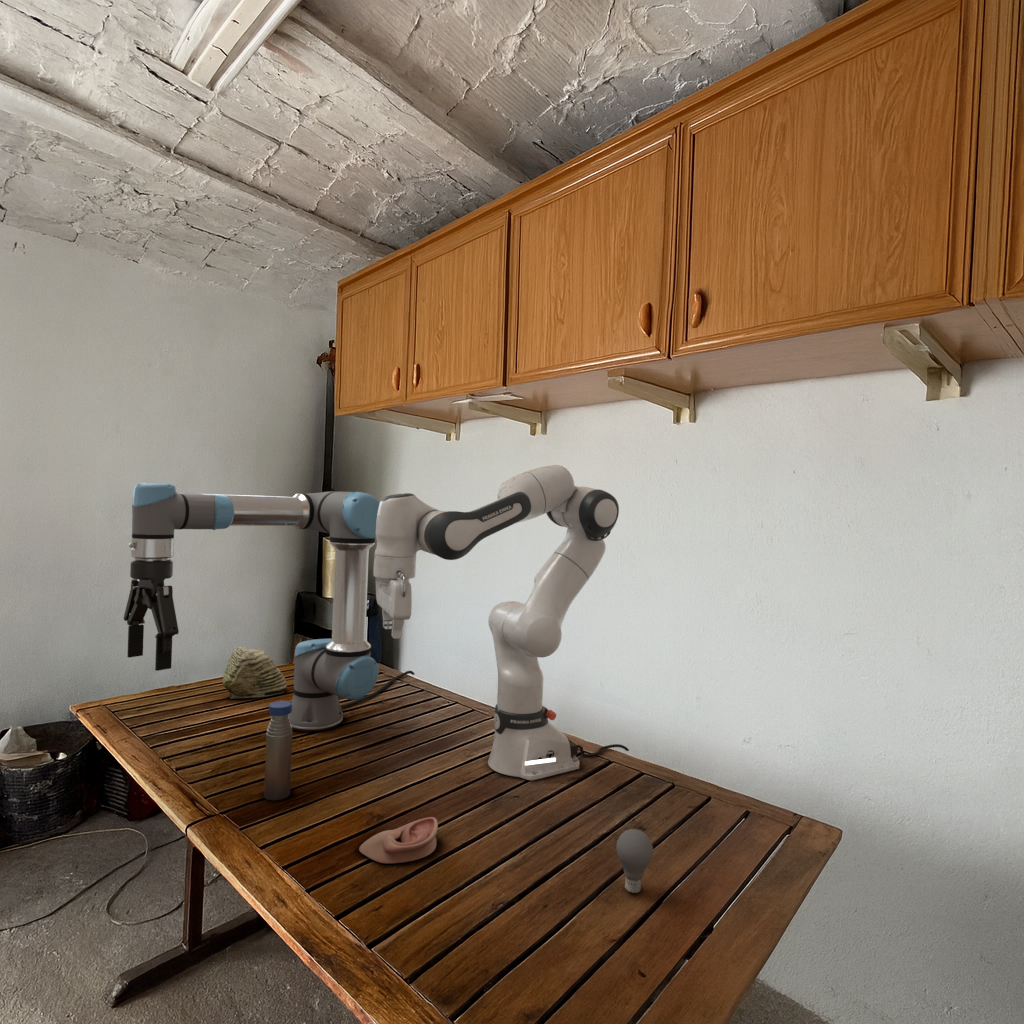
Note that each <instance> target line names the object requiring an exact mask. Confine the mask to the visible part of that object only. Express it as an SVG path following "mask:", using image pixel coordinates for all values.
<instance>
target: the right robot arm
mask: <svg viewBox="0 0 1024 1024" xmlns="http://www.w3.org/2000/svg"><path fill="white" fill-rule="evenodd" d="M573 477H574V476H573V475H572V474H571V472H570V471H569V469H568V468H566V467H564V466H562V465H559V464H553V465H546V466H541V467H537V468H533V469H530V470H529V469H528V470H527V471H524V472H521V473H519V474H516V475H514V476H512V477H510V478H509V479H507V480H505V481H504V482H502V483H501V484H500V486H499V488H498V490H497V499H495V500H494V501H492V502H490V503H486V504H485V505H482V506H480V507H478V508H475V509H472V510H470V511H455V510H454V511H453V510H452V511H451V510H447V511H446V510H440V509H438V508H435V507H433V506H431V505H429V504H427V503H426V502H423V501H422V500H421V499H419V498H418V496H417V495H416V494H414V493H410V492H409V493H408V492H406V493H404V492H403V493H395V494H389V495H386V496H384V497H383V498H381V500H379V502H380V504H379V507H378V513H377V520H376V536H375V540H376V547H375V550H374V556H373V557H374V558H373V568H372V571H373V577H375V598H376V603H377V605H378V606H379V607H380V608H381V614H382V628H384V629H385V630H391V634H390V636H391V637H392V639H394V640H395V639H401V638H402V630H403V627H404V624H405V620H410V619H411V616H412V602H413V601H412V599H413V597H412V594H413V592H412V584H411V582H410V579H415V578H416V569H417V568H416V566H417V554H418V552H419V551H422V552H425V553H428V554H431V555H435V556H437V557H439V558H441V559H443V560H445V561H446V560H447V561H456V560H459V559H462V558H463V557H465V556H466V555H468V554H469V553H470V552H471V551H472V550H473V549H474V547H475V546H476V545H478V543H480V542H481V541H483V540H484V539H486V538H487V537H488V538H489V537H491V536H492V535H494V534H496V533H498V532H500V531H502V530H504V529H506V528H508V527H511V526H513V525H515V524H518V523H523V522H527V521H529V520H533V519H534V518H535V519H536V518H538V517H540V516H543V515H545V514H546V516H547V517H548V519H549V520H550V521H551V522H552V523H554V524H555V525H557V526H558V527H562V528H563V527H564V528H566V533H565V537H564V539H563V541H562V543H560V544H559V546H557V548H556V549H555V550H554V552H553V553H552V554H551V555H550V556H549V558H548V559H547V560H546V562H545V563H544V564H543V566H542V567H541V568H540V569H539V570H538V572H536V574H535V576H534V578H533V588H532V591H531V593H530V595H529V597H528V599H527V600H526V602H524V603H523V602H520V601H516V600H510V601H509V600H507V601H502V602H498V603H497V604H496V605H495V606H494V607H493V608H492V609H491V610H490V612H489V615H488V627H489V629H490V632H491V635H492V640H493V646H494V647H493V648H494V652H495V654H494V655H495V660H496V668H497V693H496V694H497V695H496V696H497V697H496V699H497V700H496V705H495V706H494V715H493V726H494V734H493V735H494V736H493V741H492V746H491V750H490V754H489V757H488V760H487V765H488V767H489V768H490V769H491V770H492V771H494V772H497V773H499V774H502V775H505V776H508V777H509V776H510V777H516V778H521V779H523V780H525V781H526V780H527V781H536V780H540V779H544V778H548V777H552V776H556V775H559V774H565V773H568V772H572V771H575V770H579V769H580V766H581V765H580V760H579V758H578V754H579V753H580V754H579V755H581V756H582V757H584V758H592V757H595V756H599V755H600V754H601V753H602V751H604V750H607V749H611V748H621V749H623V750H625V751H626V752H629V751H630V750H629V748H628V747H627V746H625V745H623V744H619V743H615V744H608V745H603V746H600V747H599V748H598V751H596V752H592V753H584V747H583V746H582V745H579V744H576V742H573V741H572V740H571V739H570V738H568V737H567V736H566V735H565V733H563V732H562V731H561V730H559V729H558V727H556V726H555V725H554V724H552V723H551V722H550V721H555V720H556V718H557V713H556V712H555V711H553V710H552V709H549V708H547V707H546V706H544V705H543V697H544V674H543V671H542V669H541V666H540V663H539V659H538V658H547V657H549V656H552V655H553V654H554V653H555V652H556V651H557V650H558V649H559V647H560V644H561V642H562V636H563V634H562V626H563V622H564V620H565V617H566V615H567V612H568V610H569V609H570V606H571V605H572V603H573V602H574V600H575V599H576V597H577V596H578V594H580V592H581V590H583V588H584V586H585V585H586V584H587V583H588V581H589V580H590V578H591V577H592V576H593V575H594V573H595V571H596V570H597V568H598V566H599V564H600V563H601V561H602V559H603V557H604V555H605V553H606V542H605V540H604V539H606V538H608V537H609V536H610V535H611V531H612V530H613V529H614V527H615V526H616V524H617V521H618V519H619V514H620V506H619V502H618V500H617V499H616V497H615V496H614V495H613V494H611V493H609V492H607V490H603V489H596V488H592V487H588V486H578V485H577V486H576V485H575V480H574V478H573ZM549 720H550V721H549ZM579 749H580V750H579ZM578 752H579V753H578Z"/></svg>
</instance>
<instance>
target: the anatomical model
mask: <svg viewBox="0 0 1024 1024" xmlns="http://www.w3.org/2000/svg"><path fill="white" fill-rule="evenodd" d="M438 830H439V822H438V819H437V818H436V817H434V816H428V817H423V818H419V819H417V820H414V821H410V822H409V823H407V824H404V825H401V826H398V827H397V828H395V829H388V830H383V831H381V832H378V833H376V834H374V835H372V836H371V837H369V838H368V839H366V840H365V841H364V842H363V843H362V844H361V845H360V846H359V848H358V850H359V852H360V853H361V854H362V855H364V857H366V858H368V859H369V860H372V861H374V862H377V863H380V864H399V863H400V864H401V863H409V862H413V861H417V860H420V859H422V858H426V857H427V856H429V855H431V854H432V853H433V852H435V850H436V847H437V837H436V836H437V834H438Z"/></svg>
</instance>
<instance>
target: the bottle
mask: <svg viewBox="0 0 1024 1024" xmlns="http://www.w3.org/2000/svg"><path fill="white" fill-rule="evenodd" d="M265 734H266V736H265V758H264V761H265V762H264V763H265V764H264V785H263V789H264V790H263V798H264V799H265V800H268V801H280V800H284V799H287V798H289V796H290V795H291V781H292V779H291V778H292V756H293V755H292V754H293V753H292V752H293V730H292V727H291V723H290V720H289V717H288V715H284V716H273V715H271V718H270V721H269V724H268V725H267V728H266V733H265Z"/></svg>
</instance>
